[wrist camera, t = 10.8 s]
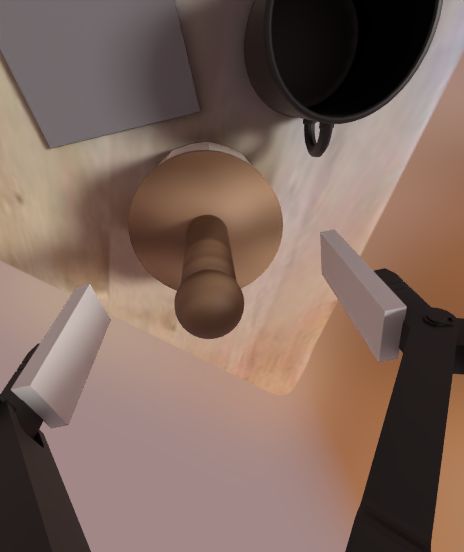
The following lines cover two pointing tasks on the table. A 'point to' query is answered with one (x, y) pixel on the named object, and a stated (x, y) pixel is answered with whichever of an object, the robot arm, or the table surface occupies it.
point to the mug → (335, 57)
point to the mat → (97, 64)
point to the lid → (206, 234)
